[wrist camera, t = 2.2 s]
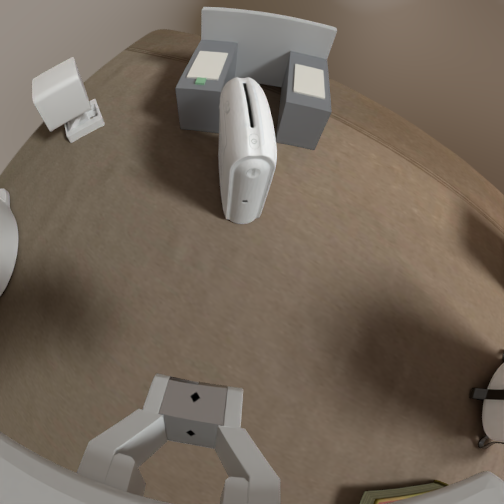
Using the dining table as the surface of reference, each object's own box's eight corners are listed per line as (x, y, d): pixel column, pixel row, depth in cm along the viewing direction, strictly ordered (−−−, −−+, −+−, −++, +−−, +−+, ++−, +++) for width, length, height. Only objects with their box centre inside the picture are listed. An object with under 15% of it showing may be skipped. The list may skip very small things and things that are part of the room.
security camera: (56, 124, 33) (31, 77, 24) (96, 102, 35) (78, 52, 25) (61, 150, 32) (31, 101, 22) (105, 126, 33) (84, 71, 24)
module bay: (180, 129, 34) (171, 52, 23) (203, 72, 38) (204, 6, 27) (314, 149, 35) (346, 78, 24) (314, 89, 39) (336, 27, 28)
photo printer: (263, 224, 31) (289, 151, 19) (222, 227, 30) (225, 153, 19) (252, 147, 34) (266, 66, 22) (216, 148, 33) (218, 66, 22)
